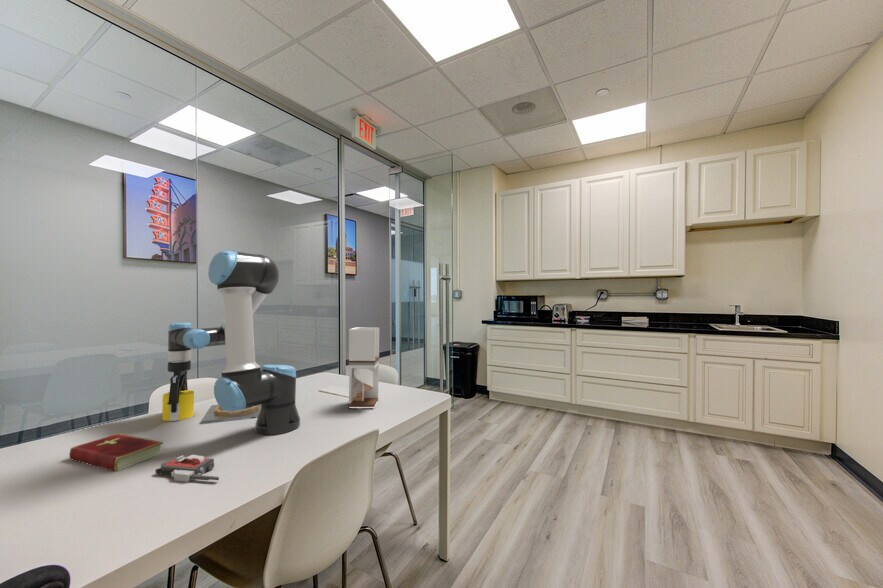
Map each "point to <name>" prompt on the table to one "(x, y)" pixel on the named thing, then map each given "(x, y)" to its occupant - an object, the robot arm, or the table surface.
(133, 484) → the table surface
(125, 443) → the hardcover book
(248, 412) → the ring collar plate
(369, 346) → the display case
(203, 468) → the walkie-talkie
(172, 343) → the robot arm
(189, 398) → the tape roll
